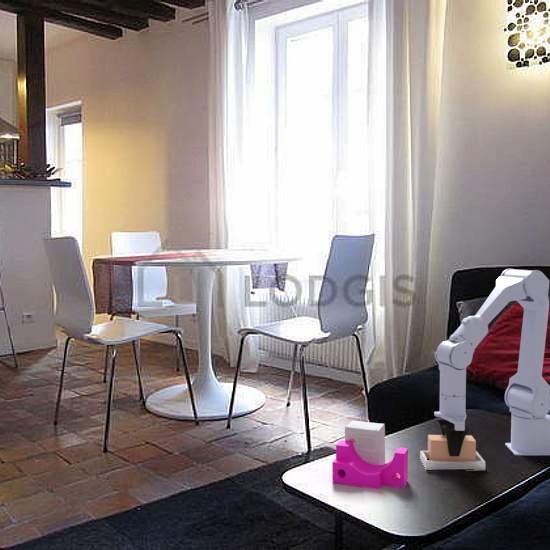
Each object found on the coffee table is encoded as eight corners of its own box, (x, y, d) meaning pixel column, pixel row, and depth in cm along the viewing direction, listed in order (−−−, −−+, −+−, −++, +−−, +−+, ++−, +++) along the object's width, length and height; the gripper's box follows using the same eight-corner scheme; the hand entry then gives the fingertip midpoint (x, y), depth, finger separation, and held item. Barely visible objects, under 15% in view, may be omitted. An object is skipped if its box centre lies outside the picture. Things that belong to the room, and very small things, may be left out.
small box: (385, 469, 146) (385, 423, 146) (379, 477, 141) (379, 430, 141) (351, 464, 150) (351, 419, 149) (344, 472, 144) (344, 426, 144)
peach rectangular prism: (427, 455, 150) (427, 434, 149) (471, 456, 149) (471, 435, 149) (430, 462, 146) (430, 440, 145) (475, 462, 145) (475, 441, 145)
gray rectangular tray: (476, 461, 151) (476, 451, 151) (485, 473, 144) (485, 462, 144) (419, 461, 151) (419, 450, 151) (425, 472, 144) (425, 461, 144)
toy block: (332, 482, 139) (332, 448, 139) (341, 472, 145) (341, 439, 144) (401, 493, 133) (401, 457, 133) (407, 482, 139) (407, 448, 138)
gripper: (428, 386, 154) (428, 441, 155) (441, 402, 139) (441, 463, 140) (458, 386, 154) (457, 442, 154) (474, 402, 139) (473, 463, 140)
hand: (451, 452), depth 147 cm, fingers closed on peach rectangular prism, 4 cm apart
